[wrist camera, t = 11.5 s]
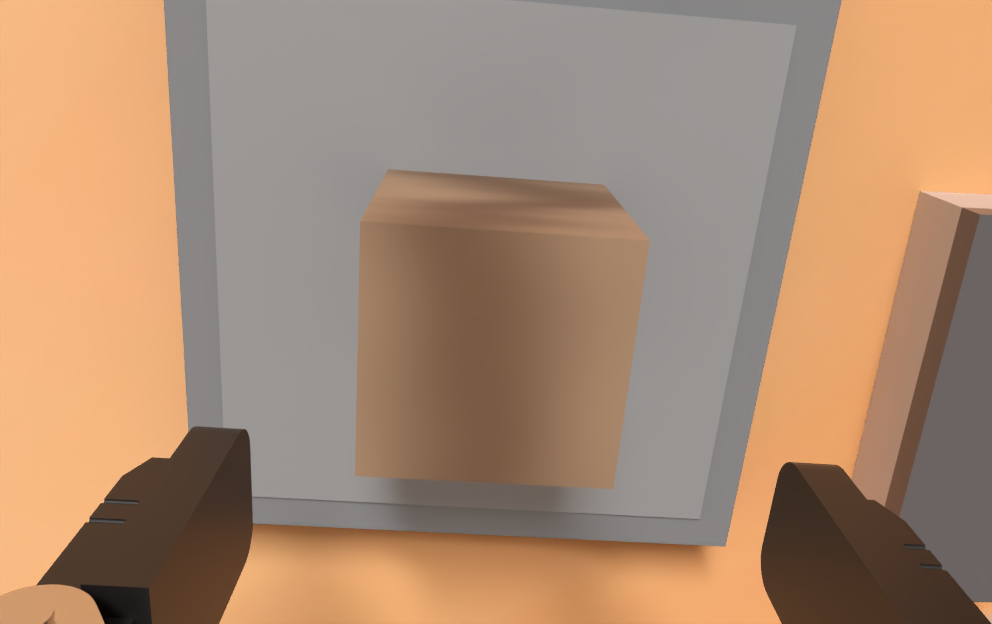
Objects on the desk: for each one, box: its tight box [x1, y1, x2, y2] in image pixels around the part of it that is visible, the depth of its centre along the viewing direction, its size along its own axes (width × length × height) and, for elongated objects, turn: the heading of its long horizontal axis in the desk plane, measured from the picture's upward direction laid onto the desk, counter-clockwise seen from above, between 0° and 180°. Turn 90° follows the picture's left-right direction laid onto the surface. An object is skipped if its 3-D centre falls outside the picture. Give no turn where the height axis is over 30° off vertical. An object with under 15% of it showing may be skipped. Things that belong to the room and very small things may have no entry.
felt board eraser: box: [852, 191, 992, 602], centre depth 24 cm, size 12×5×3 cm, turn 177°
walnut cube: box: [355, 169, 650, 489], centre depth 19 cm, size 6×6×6 cm
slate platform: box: [164, 0, 841, 546], centre depth 22 cm, size 16×16×2 cm
